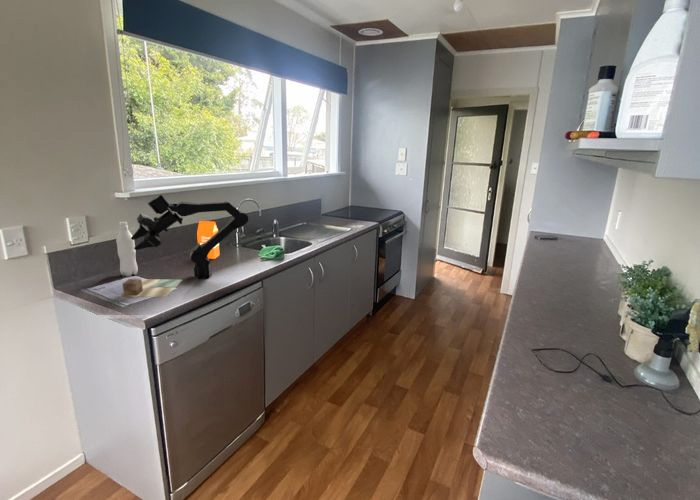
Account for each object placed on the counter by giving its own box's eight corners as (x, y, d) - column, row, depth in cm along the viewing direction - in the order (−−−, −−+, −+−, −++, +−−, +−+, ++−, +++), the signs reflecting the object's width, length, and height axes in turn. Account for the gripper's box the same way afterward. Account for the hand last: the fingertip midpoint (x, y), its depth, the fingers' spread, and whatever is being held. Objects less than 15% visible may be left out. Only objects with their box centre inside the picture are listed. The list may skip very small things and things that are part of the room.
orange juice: (214, 259, 202) (212, 223, 197) (198, 258, 202) (195, 222, 197) (219, 255, 210) (217, 220, 204) (204, 254, 210) (201, 219, 204)
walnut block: (142, 290, 153) (141, 279, 152) (137, 295, 148) (135, 283, 147) (130, 290, 153) (128, 279, 151) (124, 295, 148) (122, 283, 146)
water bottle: (125, 272, 176) (118, 220, 170) (141, 272, 177) (135, 220, 171) (117, 277, 170) (110, 223, 163) (134, 277, 170) (127, 224, 164)
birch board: (183, 281, 167) (182, 279, 167) (166, 299, 148) (165, 296, 148) (141, 281, 166) (140, 279, 165) (118, 299, 146) (118, 296, 146)
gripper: (147, 200, 163) (116, 222, 160) (155, 218, 150) (121, 242, 147) (164, 218, 170) (135, 238, 168) (173, 236, 158) (142, 259, 155)
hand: (133, 244), depth 159 cm, fingers open, 9 cm apart
